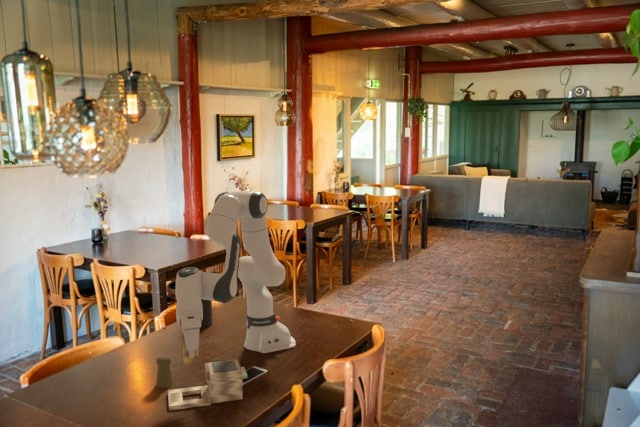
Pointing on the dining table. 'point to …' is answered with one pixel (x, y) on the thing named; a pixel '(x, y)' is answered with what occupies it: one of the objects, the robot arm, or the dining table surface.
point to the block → (186, 355)
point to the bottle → (207, 312)
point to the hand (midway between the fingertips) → (191, 353)
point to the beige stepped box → (211, 387)
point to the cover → (207, 373)
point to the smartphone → (253, 374)
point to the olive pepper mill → (164, 372)
